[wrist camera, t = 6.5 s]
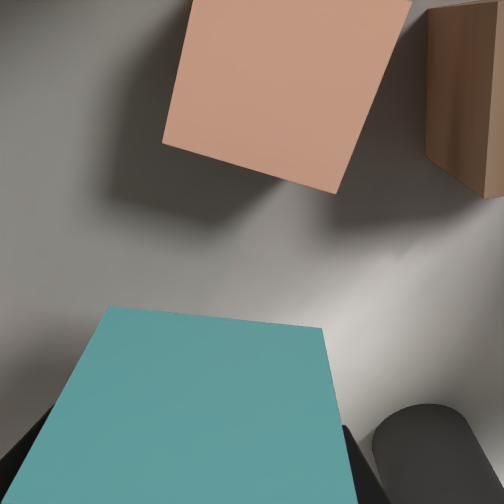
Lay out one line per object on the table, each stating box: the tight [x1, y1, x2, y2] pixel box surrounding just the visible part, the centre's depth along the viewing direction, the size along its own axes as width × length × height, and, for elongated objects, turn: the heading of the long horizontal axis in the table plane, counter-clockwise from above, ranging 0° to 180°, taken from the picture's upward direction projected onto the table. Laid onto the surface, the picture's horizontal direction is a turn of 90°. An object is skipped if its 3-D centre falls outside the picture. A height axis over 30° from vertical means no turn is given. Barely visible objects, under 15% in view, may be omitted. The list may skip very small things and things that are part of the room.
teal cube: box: [1, 306, 358, 504], centre depth 10 cm, size 5×5×5 cm
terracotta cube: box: [162, 0, 412, 194], centre depth 14 cm, size 5×5×5 cm
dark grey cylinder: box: [372, 404, 504, 504], centre depth 22 cm, size 5×5×5 cm
